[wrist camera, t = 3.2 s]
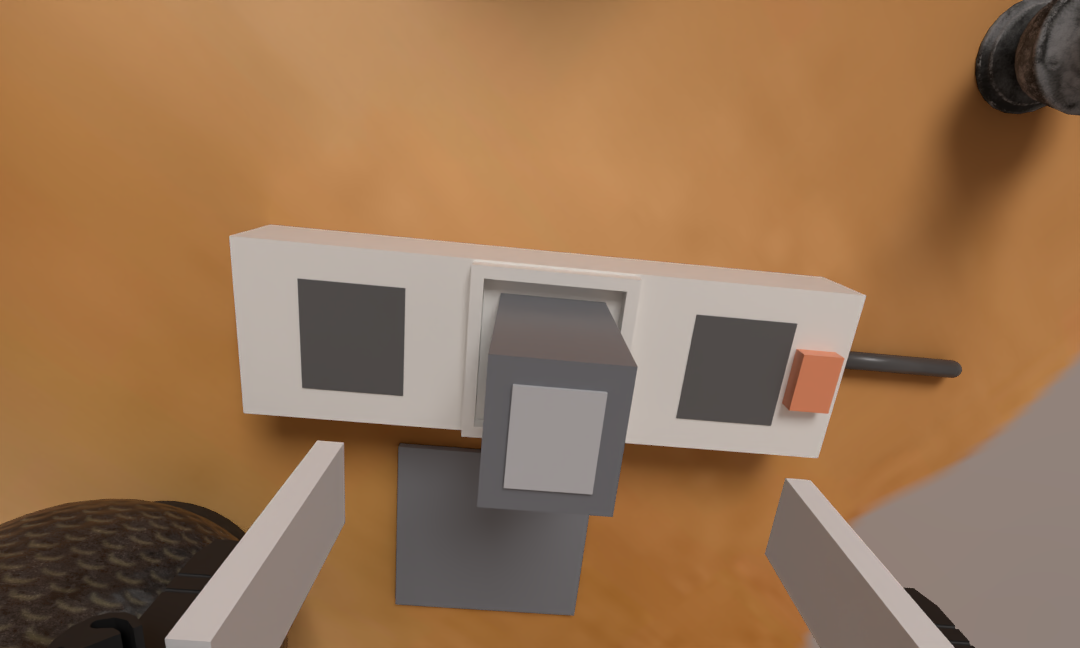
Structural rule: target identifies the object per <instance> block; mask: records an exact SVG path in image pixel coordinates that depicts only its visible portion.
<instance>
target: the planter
mask: <svg viewBox="0 0 1080 648" xmlns="http://www.w3.org/2000/svg"><path fill="white" fill-rule="evenodd" d="M244 535H245V533H244V532H243V531H242V530H241V529H240V528H239V527H238V526H237V525H235V524H234V523H233V522H231V521H230V520H229V519H227V518H225V517H223V516H221V515H220V514H218V513H216V512H214V511H211V510H209V509H206V508H204V507H201V506H197V505H193V504H189V503H183V502H176V501H155V502H150V501H144V500H137V499H99V500H90V501H81V502H73V503H65V504H62V505H58V506H54V507H50V508H46V509H42V510H39V511H36V512H33V513H30V514H26V515H23V516H21V517H18V518H16V519H13V520H11V521H8V522H6V523H3V524H1V525H0V648H47V647H48V646H49V645H50V644H51V642H52V641H53V640H54V639H55V638H56V637H58V636H59V635H60V634H62V633H63V632H65V631H66V630H67V629H69V628H70V627H72V626H74V625H76V624H78V623H80V622H82V621H84V620H86V619H88V618H90V617H94V616H98V615H102V614H105V613H110V612H126V613H129V614H132V615H134V616H137V618H138V619H139V618H140V617H141V616H142V614H143V613H144V612H145V611H146V610H147V609H148V607H149V606H150V605H151V604H152V603H153V602H154V600H155V599H156V598H157V597H158V596H159V595H160V593H161V592H164V591H165V588H166V586H167V585H168V584H169V583H170V582H171V581H172V580H173V578H174V577H175V576H178V573H179V571H180V570H181V569H182V568H183V567H184V566H185V564H186V563H187V562H188V561H189V560H190V559H191V557H192V556H193V555H194V554H195V553H197V552H198V551H200V550H201V549H203V548H204V547H206V546H207V545H209V544H210V543H212V542H213V541H215V540H216V539H222V540H236V541H240V540H241V539H242V538H243V536H244ZM287 644H288V638H287V635H286V637H285V639H284V641H283V643H282V645H281V646H280V648H287Z"/></svg>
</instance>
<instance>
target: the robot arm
mask: <svg viewBox="0 0 1080 648" xmlns="http://www.w3.org/2000/svg"><path fill="white" fill-rule="evenodd" d="M344 523H345V483H344V443H342V442H330V441H318V440H317V441H316V443H315V444H314V445H313V447H312V448H311V449H310V451H309V452H308V453H307V454H306V456H305V457H304V458H303V460H302V461H301V462H300V464H299V465H298V466H297V467H296V469H295V470H294V471H293V473H292V474H291V475H290V477H289V478H288V479H287V480H286V482H285V483H284V484H283V486H282V487H281V488H280V490H279V491H278V492H277V493H276V495H275V496H274V497H273V499H272V500H271V501H270V503H269V504H268V505H267V506H266V508H265V509H264V510H263V512H262V513H261V514H260V516H259V517H258V518H257V519H256V521H255V522H254V523H253V525H252V526H251V527H250V529H249V530H248V531H247V532H246V534H245V535H244V536H243V538H242V539H241V540H240V541H236V540H222V539H216V540H215V541H213V542H212V543H210V544H209V545H207V546H206V547H204V548H203V549H201V550H200V551H198V552H197V553H195V554H194V555H193V556H192V557H191V559H190V560H189V561H188V562H187V563H186V564H185V566H184V567H183V568H182V569H181V570H180V571H179V573H178V576H175V577H174V578H173V580H172V581H171V582H170V583H169V584H168V585H167V586H166V588H165V591H164V592H161V593H160V595H159V596H158V597H157V598H156V599H155V600H154V602H153V603H152V604H151V605H150V606H149V607H148V609H147V610H146V611H145V612H144V613H143V614H142V616H141V617H140V618H139V619H138V618H137V616H134V615H132V614H129V613H126V612H110V613H105V614H102V615H98V616H94V617H90V618H88V619H86V620H84V621H82V622H80V623H78V624H76V625H74V626H72V627H70V628H69V629H67V630H66V631H65V632H63V633H62V634H60V635H59V636H58V637H56V638H55V639H54V640H53V641H52V642H51V644H50V645H49V646H48V647H47V648H280V646H281V645H282V643H283V641H284V639H285V637H286V635H287V633H288V631H289V629H290V627H291V625H292V623H293V621H294V620H295V618H296V616H297V614H298V612H299V610H300V608H301V606H302V604H303V602H304V600H305V598H306V596H307V595H308V593H309V591H310V589H311V587H312V585H313V583H314V581H315V579H316V577H317V575H318V573H319V571H320V570H321V568H322V566H323V564H324V562H325V560H326V558H327V556H328V554H329V552H330V550H331V548H332V546H333V545H334V543H335V541H336V539H337V537H338V535H339V533H340V531H341V529H342V527H343V525H344ZM765 555H766V556H767V558H768V560H769V561H770V563H771V565H772V566H773V568H774V570H775V572H776V573H777V575H778V577H779V578H780V580H781V582H782V584H783V585H784V587H785V589H786V590H787V592H788V594H789V596H790V597H791V599H792V601H793V602H794V604H795V606H796V607H797V609H798V611H799V613H800V614H801V616H802V618H803V619H804V621H805V623H806V625H807V626H808V628H809V630H810V631H811V633H812V635H813V637H814V638H815V640H816V642H817V643H818V645H819V647H820V648H975V647H974V646H970V644H969V641H968V639H967V638H966V637H965V636H964V635H963V634H962V633H961V632H960V631H959V629H955V625H954V624H953V623H952V622H951V621H950V620H949V618H948V617H946V615H945V614H944V613H943V612H942V611H941V610H940V608H939V607H938V606H937V605H935V604H934V603H933V602H931V601H930V600H929V599H927V598H926V597H925V596H923V595H922V594H920V593H919V592H918V591H916V590H915V589H914V588H903V587H902V586H901V585H900V584H899V582H898V581H897V580H896V579H895V578H894V577H893V576H892V574H891V573H890V572H889V571H888V570H887V569H886V567H885V566H884V565H883V564H882V563H881V562H880V561H879V559H878V558H877V557H876V556H875V555H874V554H873V552H872V551H871V550H870V549H869V548H868V547H867V545H866V544H865V543H864V542H863V541H862V540H861V538H860V537H859V536H858V535H857V534H856V533H855V531H854V530H853V529H852V528H851V527H850V526H849V524H848V523H847V522H846V521H845V520H844V519H843V517H842V516H841V515H840V514H839V513H838V512H837V510H836V509H835V508H834V507H833V506H832V505H831V504H830V502H829V501H828V500H827V499H826V498H825V497H824V495H823V494H822V493H821V492H820V491H819V490H818V488H817V487H816V486H815V485H814V484H813V483H812V481H811V480H802V479H789V478H785V482H784V486H783V489H782V493H781V497H780V500H779V504H778V508H777V511H776V515H775V519H774V522H773V526H772V530H771V534H770V537H769V541H768V545H767V548H766V552H765Z"/></svg>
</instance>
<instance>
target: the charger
mask: <svg viewBox="0 0 1080 648" xmlns="http://www.w3.org/2000/svg"><path fill="white" fill-rule="evenodd" d="M637 368H638V366H637V364H636V362H635V360H634V359H633V357H632V355H631V353H630V351H629V349H628V347H627V345H626V343H625V341H624V339H623V337H622V335H621V333H620V331H619V329H618V327H617V325H616V323H615V321H614V319H613V317H612V315H611V313H610V311H609V309H608V307H607V305H606V303H605V302H595V301H584V300H573V299H562V298H551V297H540V296H529V295H518V294H507V293H501V295H500V300H499V305H498V310H497V314H496V319H495V324H494V329H493V334H492V338H491V343H490V348H489V353H488V364H487V378H486V391H485V405H484V419H483V432H482V446H481V460H480V473H479V487H478V500H477V507H482V508H496V509H510V510H524V511H538V512H552V513H566V514H580V515H594V516H608V517H613V511H614V505H615V499H616V493H617V487H618V482H619V476H620V470H621V464H622V458H623V452H624V446H625V440H626V434H627V428H628V422H629V416H630V410H631V404H632V398H633V392H634V386H635V380H636V374H637Z"/></svg>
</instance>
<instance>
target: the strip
mask: <svg viewBox="0 0 1080 648" xmlns="http://www.w3.org/2000/svg"><path fill="white" fill-rule="evenodd" d="M229 239H230V251H231V263H232V276H233V288H234V300H235V313H236V325H237V337H238V349H239V362H240V374H241V386H242V399H243V411H244V413H249V414H262V415H274V416H287V417H300V418H313V419H325V420H338V421H351V422H364V423H376V424H389V425H402V426H415V427H427V428H440V429H453V430H462V432H461V437H474V438H482V432H483V419H484V405H485V391H486V378H487V364H488V353H489V348H490V343H491V338H492V334H493V329H494V324H495V319H496V314H497V310H498V305H499V300H500V295H501V293H507V294H518V295H529V296H540V297H551V298H562V299H573V300H584V301H595V302H605V303H606V305H607V307H608V309H609V311H610V313H611V315H612V317H613V319H614V321H615V323H616V325H617V327H618V329H619V331H620V333H621V335H622V337H623V339H624V341H625V343H626V345H627V347H628V349H629V351H630V353H631V355H632V357H633V359H634V360H635V362H636V364H637V366H638V368H637V374H636V380H635V386H634V392H633V398H632V404H631V410H630V416H629V422H628V428H627V434H626V440H625V443H631V444H644V445H657V446H670V447H682V448H695V449H708V450H721V451H733V452H746V453H759V454H772V455H784V456H797V457H810V458H818V456H819V453H820V450H821V446H822V443H823V440H824V436H825V433H826V429H827V426H828V423H829V419H830V416H831V413H832V409H833V406H834V403H835V399H836V396H837V392H838V389H839V386H840V382H841V379H842V376H843V372H844V369H856V370H868V371H879V372H891V373H902V374H914V375H925V376H937V377H949V378H954V377H957V376H959V375H960V374H961V372H962V367H961V365H960V364H959V363H958V362H956V361H953V360H942V359H931V358H919V357H908V356H897V355H885V354H874V353H863V352H851V351H850V349H851V345H852V342H853V339H854V335H855V332H856V328H857V325H858V322H859V318H860V315H861V312H862V308H863V305H864V302H865V298H866V295H864V294H861V293H859V292H857V291H854V290H852V289H850V288H847V287H845V286H843V285H840V284H838V283H836V282H833V281H831V280H829V279H826V278H824V277H818V276H807V275H797V274H786V273H776V272H765V271H754V270H744V269H733V268H723V267H712V266H702V265H691V264H681V263H670V262H660V261H649V260H639V259H628V258H618V257H607V256H596V255H586V254H575V253H565V252H554V251H544V250H533V249H523V248H512V247H502V246H491V245H481V244H470V243H460V242H449V241H438V240H428V239H417V238H407V237H396V236H386V235H375V234H365V233H354V232H344V231H333V230H323V229H312V228H302V227H291V226H280V225H267V226H263V227H260V228H256V229H252V230H249V231H245V232H242V233H238V234H234V235H231V236H229Z"/></svg>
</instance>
